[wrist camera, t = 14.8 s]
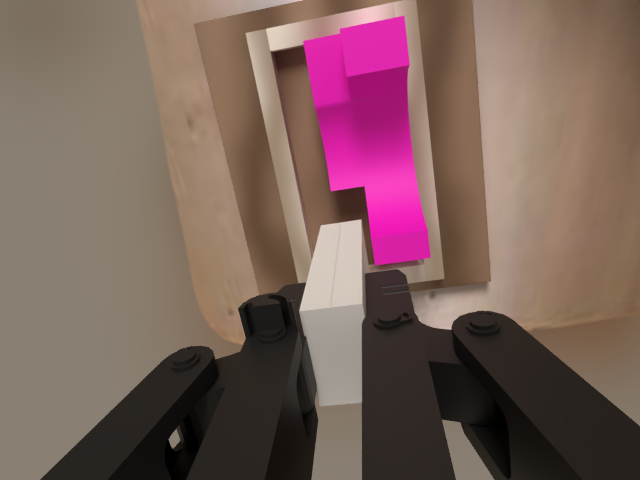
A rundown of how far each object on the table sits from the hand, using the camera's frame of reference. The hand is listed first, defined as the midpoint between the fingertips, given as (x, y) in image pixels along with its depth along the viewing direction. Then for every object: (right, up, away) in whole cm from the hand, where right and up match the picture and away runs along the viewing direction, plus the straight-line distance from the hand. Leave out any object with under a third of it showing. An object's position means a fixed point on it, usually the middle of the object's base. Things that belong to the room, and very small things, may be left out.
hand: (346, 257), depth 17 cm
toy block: (+3, +9, +19) cm, 21 cm away
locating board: (+2, +7, +21) cm, 22 cm away
